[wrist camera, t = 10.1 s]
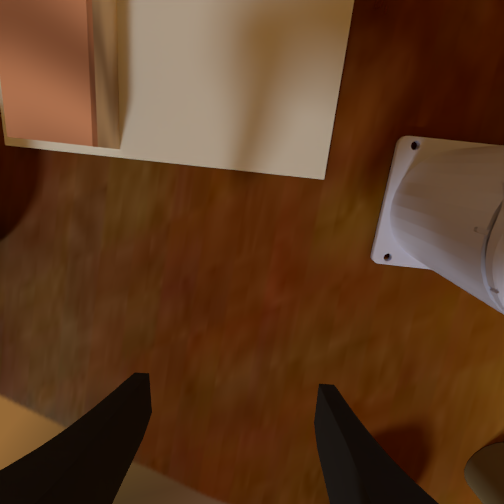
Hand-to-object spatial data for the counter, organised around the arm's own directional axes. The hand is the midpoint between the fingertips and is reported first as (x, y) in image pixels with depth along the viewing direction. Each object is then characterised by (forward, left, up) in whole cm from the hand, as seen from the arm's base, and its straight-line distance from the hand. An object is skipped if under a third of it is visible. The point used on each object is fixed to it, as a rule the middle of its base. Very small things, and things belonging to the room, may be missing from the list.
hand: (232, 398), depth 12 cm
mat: (+6, -16, -9) cm, 20 cm away
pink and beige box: (+11, -14, -9) cm, 20 cm away
